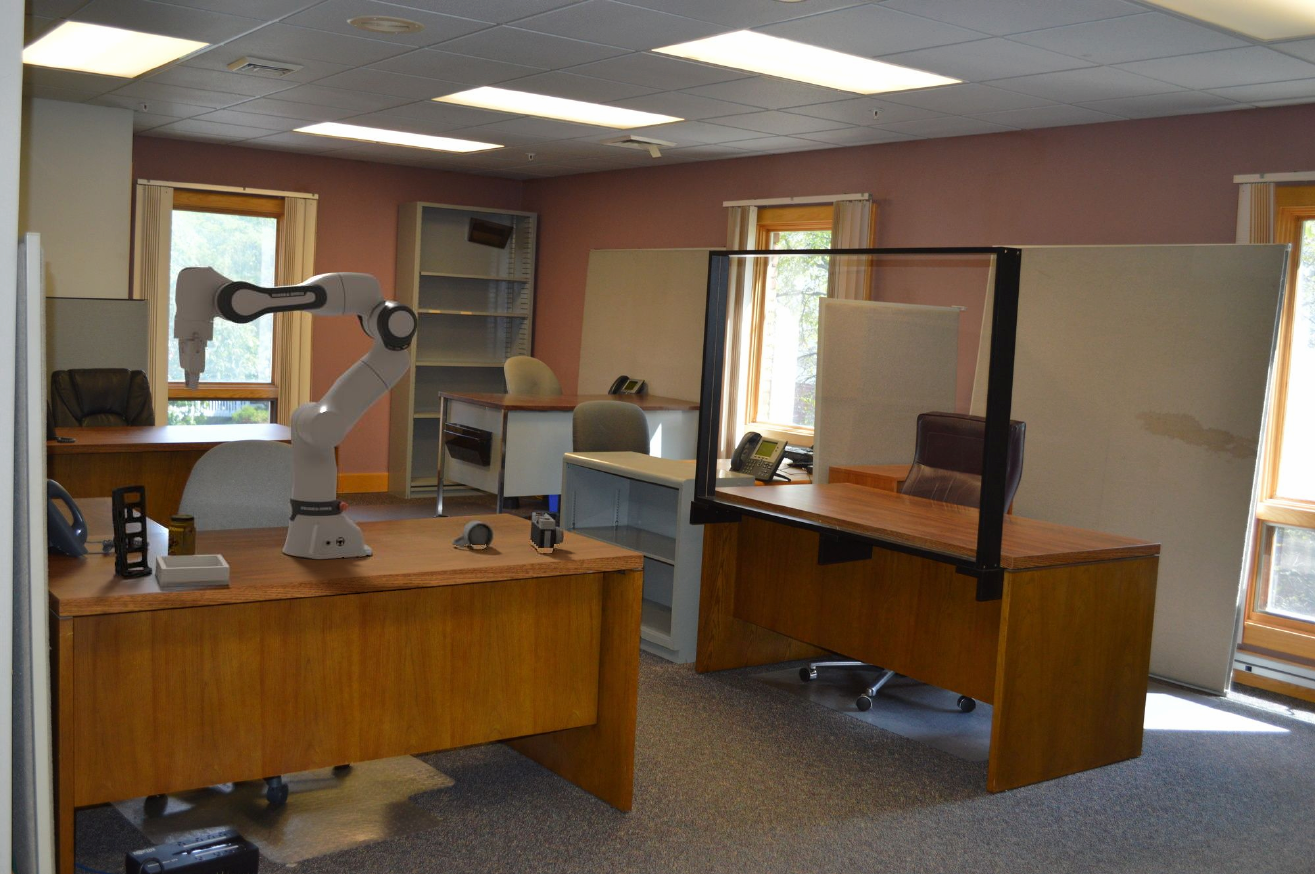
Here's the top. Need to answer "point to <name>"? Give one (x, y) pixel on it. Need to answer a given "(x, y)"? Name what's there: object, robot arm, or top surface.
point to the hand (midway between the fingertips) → (191, 389)
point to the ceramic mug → (475, 534)
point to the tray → (192, 570)
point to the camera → (545, 531)
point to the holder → (122, 536)
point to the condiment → (181, 535)
